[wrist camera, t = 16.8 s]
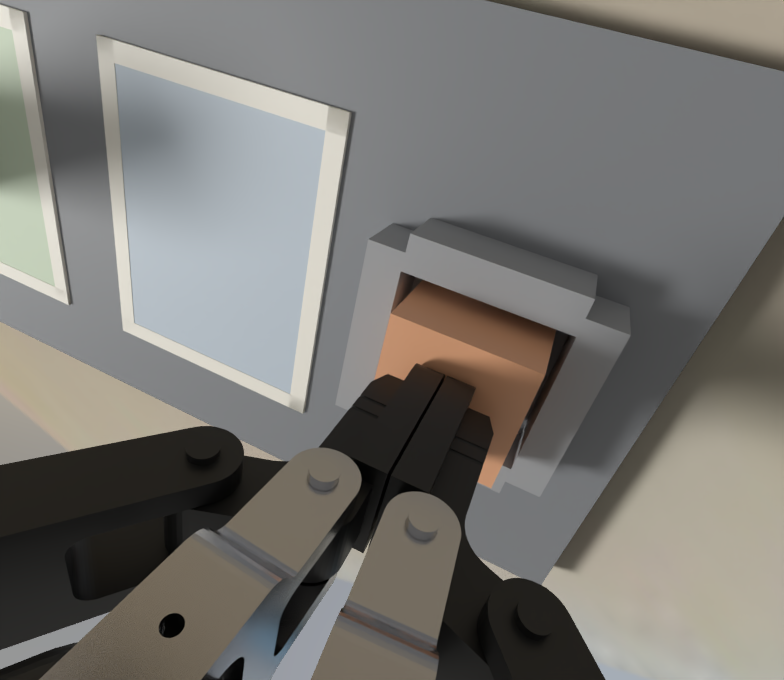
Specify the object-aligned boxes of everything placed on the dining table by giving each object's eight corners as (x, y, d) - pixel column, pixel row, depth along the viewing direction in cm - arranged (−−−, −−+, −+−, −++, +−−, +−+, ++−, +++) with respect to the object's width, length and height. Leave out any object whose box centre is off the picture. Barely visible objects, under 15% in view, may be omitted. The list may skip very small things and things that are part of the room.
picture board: (846, 89, 10) (908, 94, 8) (543, 563, 18) (533, 628, 16) (-317, -189, 18) (-444, -225, 16) (-153, 229, 26) (-221, 242, 24)
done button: (557, 327, 12) (545, 375, 10) (508, 431, 14) (490, 488, 12) (424, 278, 13) (390, 313, 11) (395, 383, 15) (362, 429, 13)
